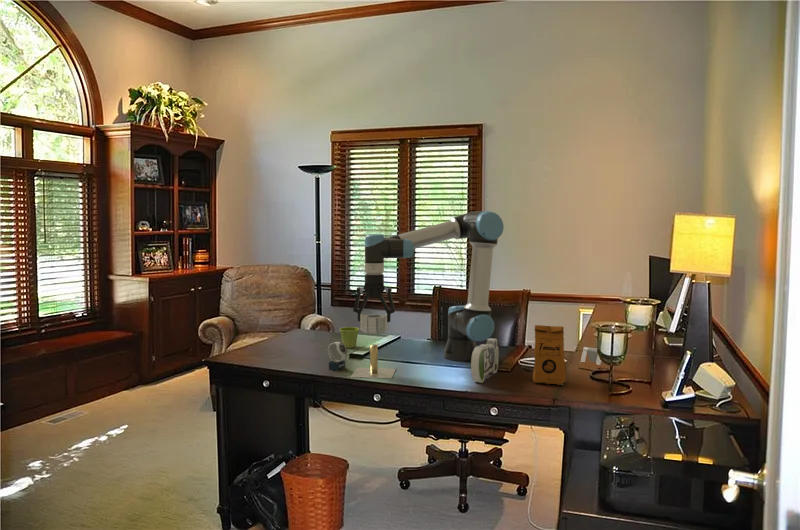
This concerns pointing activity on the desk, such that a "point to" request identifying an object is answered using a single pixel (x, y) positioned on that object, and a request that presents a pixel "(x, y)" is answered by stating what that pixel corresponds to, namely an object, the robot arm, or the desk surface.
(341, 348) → the watch
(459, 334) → the robot arm
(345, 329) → the plant pot
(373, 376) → the square peg stand
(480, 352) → the cutout
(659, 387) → the desk surface
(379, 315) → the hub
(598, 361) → the portable electronic device stand
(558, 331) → the coffee package
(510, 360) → the desk surface
